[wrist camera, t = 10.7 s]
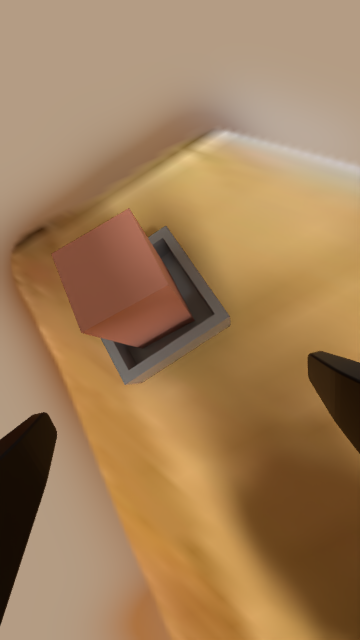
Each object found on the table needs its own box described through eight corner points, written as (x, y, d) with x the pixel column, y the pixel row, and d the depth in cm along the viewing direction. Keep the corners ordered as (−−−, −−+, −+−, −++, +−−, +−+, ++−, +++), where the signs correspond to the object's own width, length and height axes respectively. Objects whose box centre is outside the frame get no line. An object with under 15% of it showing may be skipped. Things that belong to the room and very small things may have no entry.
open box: (230, 325, 22) (230, 316, 18) (141, 383, 22) (124, 384, 19) (175, 245, 24) (165, 225, 21) (96, 299, 25) (74, 288, 21)
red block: (194, 320, 21) (168, 284, 13) (142, 348, 22) (81, 332, 13) (168, 271, 23) (128, 207, 14) (119, 298, 23) (51, 253, 14)
